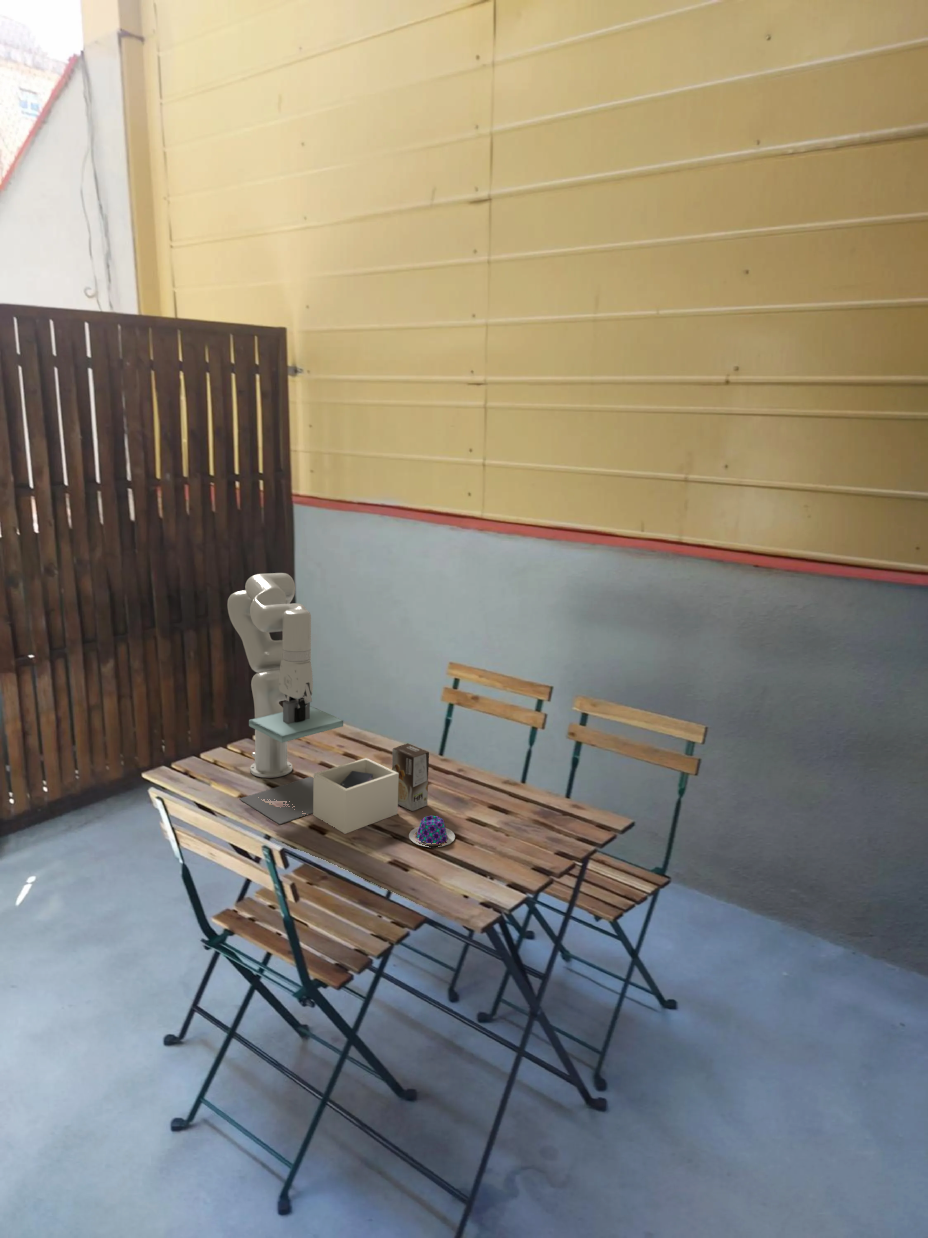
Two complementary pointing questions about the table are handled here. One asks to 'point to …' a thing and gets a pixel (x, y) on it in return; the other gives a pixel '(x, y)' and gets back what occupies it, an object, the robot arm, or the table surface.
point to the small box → (356, 779)
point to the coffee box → (411, 775)
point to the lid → (295, 723)
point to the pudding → (432, 831)
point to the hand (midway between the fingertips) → (296, 718)
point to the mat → (293, 792)
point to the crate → (355, 796)
